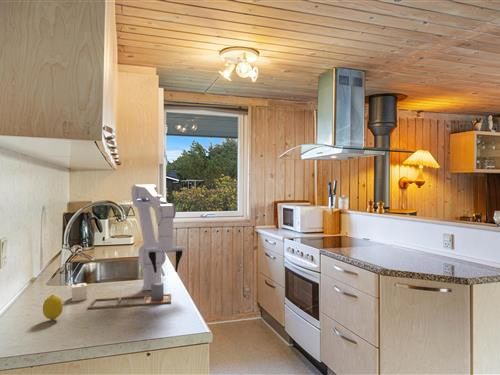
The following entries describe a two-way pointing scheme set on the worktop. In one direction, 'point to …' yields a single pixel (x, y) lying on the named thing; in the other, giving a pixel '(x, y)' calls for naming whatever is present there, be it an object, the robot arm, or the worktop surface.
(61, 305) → the lemon
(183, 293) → the worktop surface
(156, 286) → the grey rounded cylinder
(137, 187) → the robot arm
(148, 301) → the board
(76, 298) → the die
